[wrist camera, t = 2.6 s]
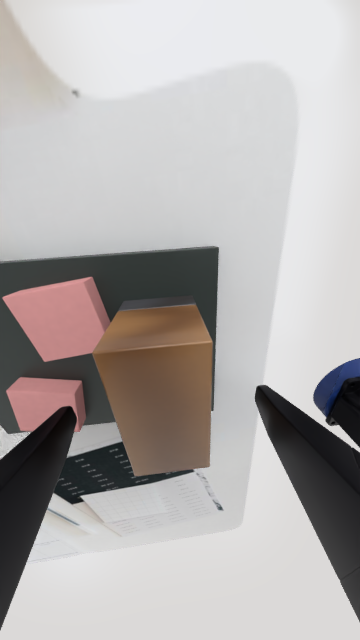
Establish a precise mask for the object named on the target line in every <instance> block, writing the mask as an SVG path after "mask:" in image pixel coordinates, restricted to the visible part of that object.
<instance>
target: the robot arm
mask: <svg viewBox="0 0 360 640" xmlns="http://www.w3.org/2000/svg"><path fill="white" fill-rule="evenodd" d="M255 402H256V405H257V407H258V410H259V413H260V415H261V418H262V420H263V423H264V426H265V428H266V431H267V433H268V436H269V438H270V440H271V442H272V444H273V446H274V448H275V450H276V452H277V454H278V456H279V458H280V460H281V462H282V464H283V466H284V468H285V470H286V473H287V474H288V476H289V479H290V480H291V483H292V485H293V487H294V489H295V491H296V493H297V495H298V497H299V499H300V501H301V503H302V505H303V507H304V509H305V511H306V513H307V515H308V517H309V519H310V521H311V523H312V525H313V527H314V529H315V531H316V534H317V536H318V537H319V540H320V542H321V544H322V546H323V547H324V550H325V552H326V554H327V556H328V558H329V560H330V562H331V564H332V566H333V568H334V570H335V572H336V574H337V576H338V578H339V579H340V582H341V585H342V587H343V589H344V591H345V593H346V595H347V597H348V599H349V601H350V603H351V605H352V607H353V609H354V611H355V613H356V615H357V617H358V619H359V621H360V452H358V451H357V450H355V449H354V448H351V446H350V445H348V444H347V443H346V442H344V441H343V440H341V439H340V438H339V437H337V436H336V435H334V434H333V433H332V432H330V431H329V430H328V429H326V428H325V427H323V426H322V425H321V424H319V423H318V422H316V421H315V420H314V419H312V418H311V417H310V416H308V415H307V414H305V413H304V412H303V411H301V410H300V409H299V408H297V407H296V406H294V405H293V404H291V403H290V402H289V401H287V400H286V399H285V398H283V397H282V396H280V395H279V394H278V393H276V392H275V391H273V390H272V389H271V388H269V387H268V386H266V385H259V386H257V388H256V393H255ZM326 422H327V423H328V425H330V426H334V425H340V427H341V428H342V429H343V430H344V431H345V432H346V433H347V434H348V435H349V436H350V438H351V439H352V440H353V441H354V442H355V443H356V444H357V445H358V446H359V447H360V377H352V378H348V379H346V380H345V381H344V382H343V384H342V386H341V388H340V391H339V393H338V395H337V397H336V399H335V401H334V403H333V405H332V407H331V410H330V412H329V414H328V416H327V418H326ZM76 423H77V416H76V414H75V412H74V410H73V408H72V407H71V406H63V407H61V408H59V409H58V410H57V411H56V412H55V413H53V414H52V415H51V416H50V417H49V418H48V419H47V420H45V421H44V422H43V423H42V424H41V425H40V426H39V427H37V428H36V429H35V430H34V431H33V432H32V433H30V434H29V435H28V436H27V437H26V438H25V439H24V440H22V441H21V442H20V443H19V444H18V445H17V446H15V447H14V448H13V449H12V450H11V451H10V452H9V453H7V454H6V455H5V456H4V457H3V458H2V459H1V460H0V630H1V627H2V625H3V622H4V619H5V617H6V614H7V612H8V609H9V606H10V604H11V601H12V598H13V596H14V593H15V591H16V588H17V586H18V583H19V580H20V578H21V575H22V573H23V570H24V567H25V565H26V562H27V560H28V557H29V554H30V552H31V549H32V547H33V544H34V541H35V539H36V536H37V534H38V531H39V528H40V526H41V523H42V521H43V518H44V515H45V513H46V510H47V508H48V505H49V502H50V500H51V497H52V495H53V492H54V489H55V487H56V484H57V481H58V479H59V476H60V474H61V471H62V468H63V466H64V463H65V460H66V458H67V454H68V451H69V448H70V444H71V441H72V437H73V433H74V430H75V426H76Z"/></svg>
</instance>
